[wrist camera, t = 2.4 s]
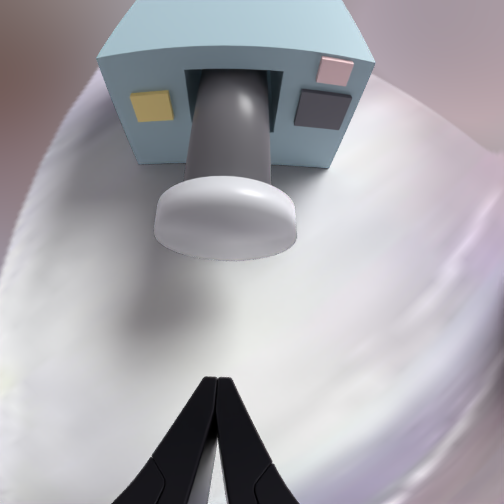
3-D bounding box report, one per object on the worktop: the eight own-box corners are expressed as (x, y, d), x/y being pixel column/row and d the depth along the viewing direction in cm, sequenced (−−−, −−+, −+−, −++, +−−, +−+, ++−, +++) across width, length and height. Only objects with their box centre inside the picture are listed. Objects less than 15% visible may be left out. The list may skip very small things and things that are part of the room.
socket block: (329, 171, 22) (377, 66, 12) (137, 167, 21) (94, 61, 11) (311, 71, 26) (332, -15, 16) (166, 67, 25) (152, -19, 15)
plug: (285, 262, 16) (311, 209, 10) (169, 259, 16) (135, 205, 10) (275, 80, 21) (285, 15, 15) (196, 79, 20) (190, 14, 15)
